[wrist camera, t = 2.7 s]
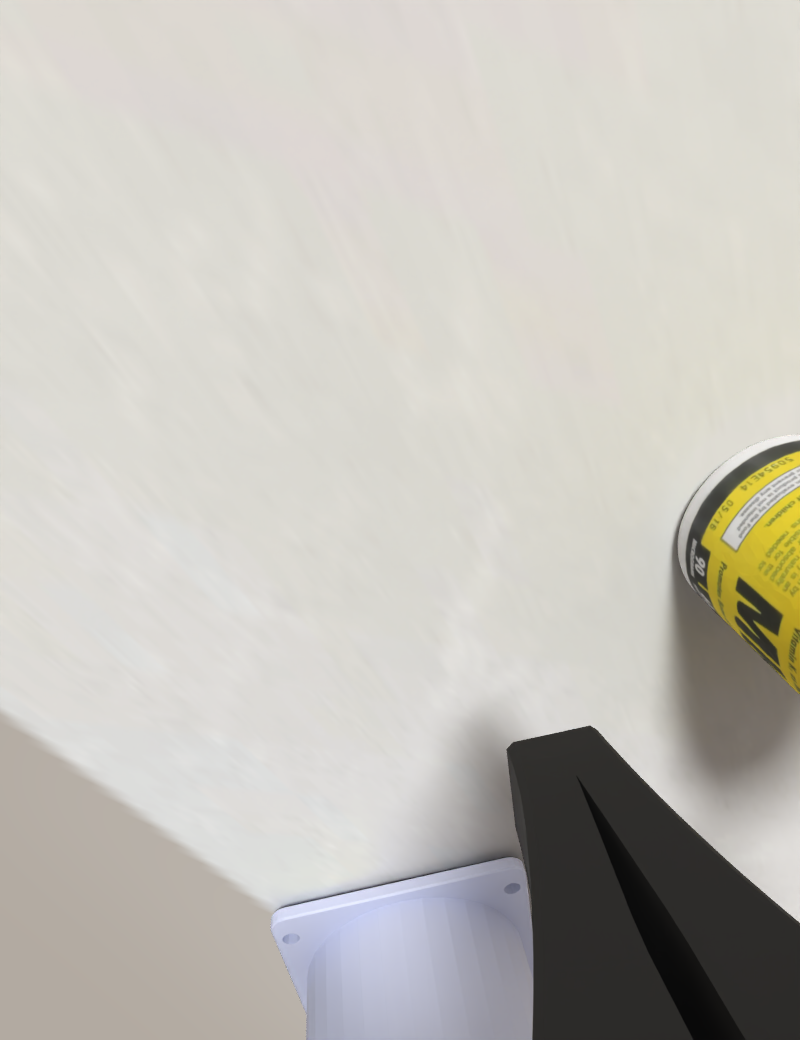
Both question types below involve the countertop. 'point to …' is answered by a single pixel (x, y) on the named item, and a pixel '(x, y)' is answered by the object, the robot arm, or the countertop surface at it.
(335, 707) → the countertop surface
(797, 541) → the supplement bottle
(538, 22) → the countertop surface
